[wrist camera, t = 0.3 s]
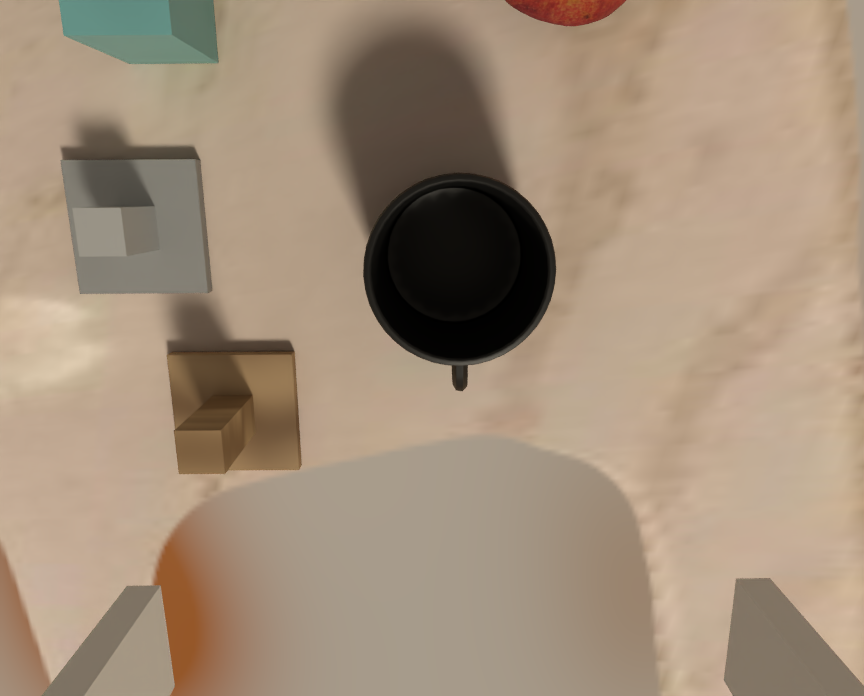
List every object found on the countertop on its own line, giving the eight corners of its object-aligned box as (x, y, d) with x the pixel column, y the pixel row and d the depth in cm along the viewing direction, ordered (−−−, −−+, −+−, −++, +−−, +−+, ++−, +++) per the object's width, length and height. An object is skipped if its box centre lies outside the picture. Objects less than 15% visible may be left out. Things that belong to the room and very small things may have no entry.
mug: (384, 369, 40) (371, 417, 32) (374, 180, 38) (356, 176, 29) (528, 364, 40) (554, 412, 32) (529, 175, 37) (558, 169, 29)
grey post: (68, 160, 37) (13, 155, 32) (200, 159, 37) (164, 154, 32) (86, 291, 39) (38, 305, 34) (212, 290, 39) (181, 304, 34)
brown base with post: (172, 352, 40) (119, 384, 33) (294, 351, 40) (266, 383, 33) (184, 465, 42) (136, 517, 35) (301, 465, 42) (276, 516, 35)
